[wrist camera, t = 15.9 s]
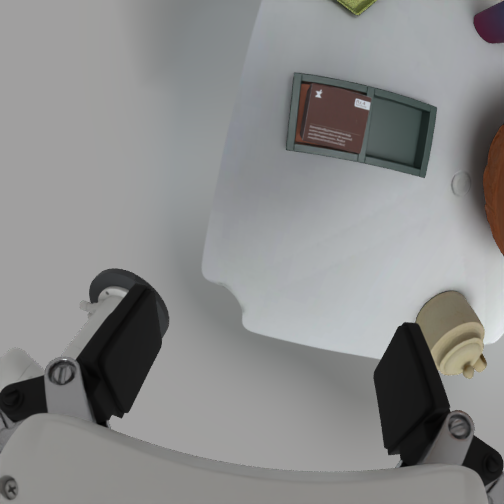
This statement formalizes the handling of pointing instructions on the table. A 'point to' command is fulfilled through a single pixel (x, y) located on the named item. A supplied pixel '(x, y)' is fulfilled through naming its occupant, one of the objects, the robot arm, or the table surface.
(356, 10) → the saucer
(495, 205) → the bowl
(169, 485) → the robot arm
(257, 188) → the table surface
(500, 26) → the cup
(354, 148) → the box
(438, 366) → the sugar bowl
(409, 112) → the tray
